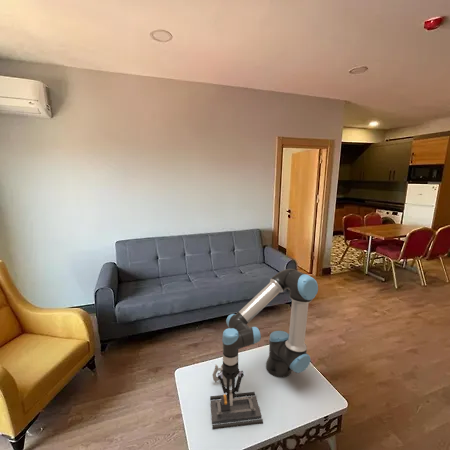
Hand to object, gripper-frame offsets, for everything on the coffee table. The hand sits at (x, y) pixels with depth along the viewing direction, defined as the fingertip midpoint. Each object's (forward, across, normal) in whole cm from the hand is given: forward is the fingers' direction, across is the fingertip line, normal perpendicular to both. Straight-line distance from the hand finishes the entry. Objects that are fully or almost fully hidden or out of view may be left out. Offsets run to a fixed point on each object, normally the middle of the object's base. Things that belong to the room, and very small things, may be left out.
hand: (230, 403), depth 129 cm
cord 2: (+5, -2, +8) cm, 9 cm away
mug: (+5, +2, -19) cm, 20 cm away
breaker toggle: (+3, +3, 0) cm, 4 cm away
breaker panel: (+4, -2, 0) cm, 5 cm away
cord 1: (+4, -2, -9) cm, 10 cm away
